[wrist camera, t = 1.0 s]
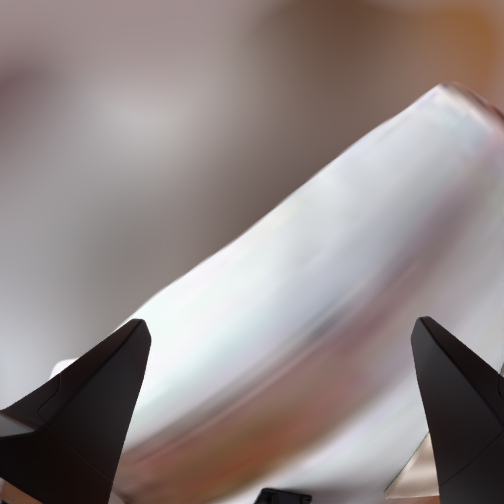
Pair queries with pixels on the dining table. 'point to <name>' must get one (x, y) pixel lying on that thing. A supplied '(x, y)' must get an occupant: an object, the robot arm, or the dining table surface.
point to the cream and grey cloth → (416, 475)
